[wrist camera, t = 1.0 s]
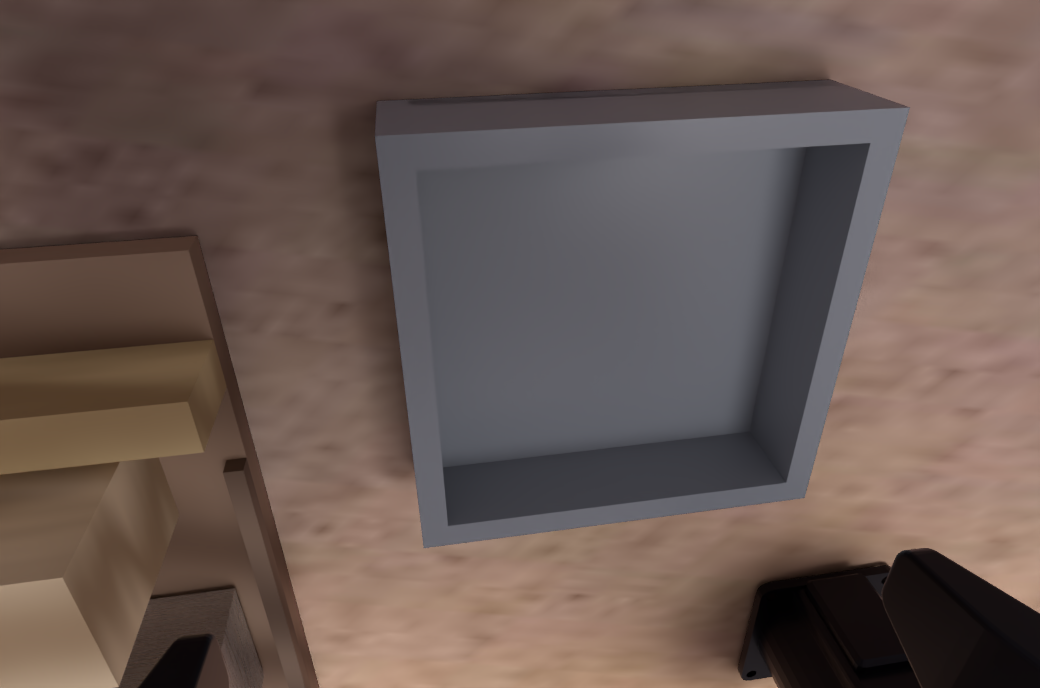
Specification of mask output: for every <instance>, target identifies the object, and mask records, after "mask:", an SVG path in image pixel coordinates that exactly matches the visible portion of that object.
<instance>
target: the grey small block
mask: <svg viewBox="0 0 1040 688" xmlns="http://www.w3.org/2000/svg"><path fill="white" fill-rule="evenodd" d="M205 633H211V634H213V635H214V636H215V637H216V638H217V640H218V643H219V647H220V650H221V653H222V656H223V659H224V663H225V666H226V669H227V672H228V677H229V688H262V685H263V679H264V674H263V671H262V668H261V665H260V662H259V659H258V656H257V653H256V650H255V647H254V644H253V641H252V638H251V635H250V632H249V629H248V626H247V623H246V620H245V617H244V614H243V611H242V608H241V605H240V602H239V599H238V596H237V593H236V590H235V588H233V589H226V590H218V591H211V592H203V593H196V594H188V595H181V596H174V597H166V598H159V599H151V600H149V603H148V605H147V608H146V611H145V614H144V617H143V620H142V623H141V625H140V628H139V631H138V634H137V637H136V640H135V642H134V645H133V648H132V651H131V654H130V657H129V660H128V662H127V665H126V668H125V671H124V674H123V677H122V680H121V682H120V685H119V687H115V688H138V686H139V685H140V684H141V682H142V681H143V680H144V679H145V677H146V676H147V675H148V673H149V672H150V671H151V670H152V668H153V667H154V666H155V664H156V663H157V662H158V661H159V659H160V658H161V657H162V656H163V654H164V653H165V652H166V650H167V649H168V648H169V647H170V645H171V644H172V643H173V642H174V641H175V640H176V639H178V638H179V637H182V636H188V635H197V634H205Z"/></svg>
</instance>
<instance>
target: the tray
mask: <svg viewBox="0 0 1040 688" xmlns="http://www.w3.org/2000/svg"><path fill="white" fill-rule="evenodd" d="M909 109H910V107H907V106H904V105H901V104H899V103H896V102H893V101H890V100H887V99H884V98H882V97H879V96H876V95H873V94H870V93H867V92H864V91H862V90H859V89H856V88H853V87H850V86H847V85H845V84H842V83H839V82H836V81H833V80H814V81H793V82H772V83H750V84H729V85H708V86H686V87H665V88H644V89H623V90H601V91H580V92H559V93H538V94H516V95H495V96H474V97H453V98H431V99H410V100H389V101H377V107H376V125H375V141H376V150H377V158H378V167H379V175H380V183H381V192H382V200H383V209H384V217H385V225H386V234H387V242H388V251H389V259H390V268H391V276H392V284H393V293H394V301H395V310H396V318H397V327H398V335H399V343H400V352H401V360H402V369H403V377H404V386H405V394H406V402H407V411H408V419H409V428H410V436H411V445H412V453H413V461H414V470H415V478H416V487H417V495H418V504H419V512H420V520H421V529H422V537H423V546H424V548H429V547H436V546H444V545H451V544H459V543H467V542H474V541H482V540H489V539H497V538H505V537H512V536H520V535H527V534H535V533H542V532H550V531H558V530H565V529H573V528H580V527H588V526H596V525H603V524H611V523H618V522H626V521H633V520H641V519H649V518H656V517H664V516H671V515H679V514H687V513H694V512H702V511H709V510H717V509H724V508H732V507H740V506H747V505H755V504H762V503H770V502H778V501H785V500H793V499H800V498H805V494H806V490H807V487H808V483H809V479H810V475H811V472H812V468H813V464H814V461H815V457H816V453H817V449H818V446H819V442H820V438H821V435H822V431H823V427H824V424H825V420H826V416H827V412H828V409H829V405H830V401H831V398H832V394H833V390H834V387H835V383H836V379H837V375H838V372H839V368H840V364H841V361H842V357H843V353H844V349H845V346H846V342H847V338H848V335H849V331H850V327H851V324H852V320H853V316H854V312H855V309H856V305H857V301H858V298H859V294H860V290H861V287H862V283H863V279H864V275H865V272H866V268H867V264H868V261H869V257H870V253H871V250H872V246H873V242H874V238H875V235H876V231H877V227H878V224H879V220H880V216H881V212H882V209H883V205H884V201H885V198H886V194H887V190H888V187H889V183H890V179H891V175H892V172H893V168H894V164H895V161H896V157H897V153H898V150H899V146H900V142H901V138H902V135H903V131H904V127H905V124H906V120H907V116H908V113H909Z"/></svg>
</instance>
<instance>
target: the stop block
mask: <svg viewBox="0 0 1040 688" xmlns="http://www.w3.org/2000/svg"><path fill="white" fill-rule="evenodd" d="M178 517H179V512H178V509H177V507H176V504H175V501H174V498H173V496H172V493H171V490H170V487H169V485H168V482H167V479H166V476H165V474H164V471H163V468H162V465H161V463H160V460H159V457H157V458H148V459H139V460H130V461H121V462H112V463H103V464H93V465H84V466H75V467H66V468H57V469H48V470H38V471H29V472H20V473H11V474H2V475H0V688H115V687H119V685H120V682H121V680H122V677H123V674H124V671H125V668H126V665H127V662H128V660H129V657H130V654H131V651H132V648H133V645H134V642H135V640H136V637H137V634H138V631H139V628H140V625H141V623H142V620H143V617H144V614H145V611H146V608H147V605H148V603H149V600H150V597H151V594H152V591H153V588H154V585H155V583H156V580H157V577H158V574H159V571H160V568H161V566H162V563H163V560H164V557H165V554H166V551H167V548H168V546H169V543H170V540H171V537H172V534H173V531H174V528H175V526H176V523H177V520H178Z"/></svg>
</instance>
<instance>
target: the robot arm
mask: <svg viewBox="0 0 1040 688" xmlns="http://www.w3.org/2000/svg"><path fill="white" fill-rule="evenodd" d="M738 671H739V673H740V675H741V678H742V679H743V680H755V679H761V678H767V677H773V679H774V681H775V683H776V685H777V687H778V688H1040V613H1038V612H1036V611H1035V610H1033V609H1031V608H1030V607H1028V606H1026V605H1025V604H1023V603H1021V602H1020V601H1018V600H1017V599H1015V598H1013V597H1012V596H1010V595H1008V594H1007V593H1005V592H1003V591H1002V590H1000V589H998V588H997V587H995V586H993V585H992V584H990V583H988V582H987V581H985V580H983V579H982V578H980V577H978V576H977V575H975V574H973V573H972V572H970V571H968V570H967V569H965V568H963V567H962V566H960V565H959V564H957V563H955V562H954V561H952V560H950V559H949V558H947V557H945V556H944V555H942V554H940V553H939V552H937V551H935V550H932V549H929V548H920V549H911V550H904V551H901V552H900V553H899V554H898V555H897V556H896V558H895V560H894V563H893V565H892V567H890V566H878V567H871V568H864V569H857V570H851V571H844V572H837V573H830V574H824V575H817V576H810V577H803V578H797V579H790V580H783V581H776V582H770V583H766V584H764V585H762V586H761V587H760V588H758V590H757V593H756V597H755V601H754V605H753V609H752V613H751V617H750V621H749V625H748V629H747V633H746V637H745V642H744V646H743V650H742V654H741V658H740V662H739V666H738ZM138 688H229V677H228V672H227V669H226V666H225V663H224V659H223V656H222V653H221V650H220V647H219V643H218V640H217V638H216V637H215V636H214V635H213V634H211V633H205V634H197V635H188V636H182V637H179V638H178V639H176V640H175V641H174V642H173V643H172V644H171V645H170V647H169V648H168V649H167V650H166V652H165V653H164V654H163V656H162V657H161V658H160V659H159V661H158V662H157V663H156V664H155V666H154V667H153V668H152V670H151V671H150V672H149V673H148V675H147V676H146V677H145V679H144V680H143V681H142V682H141V684H140V685H139V686H138Z"/></svg>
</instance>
